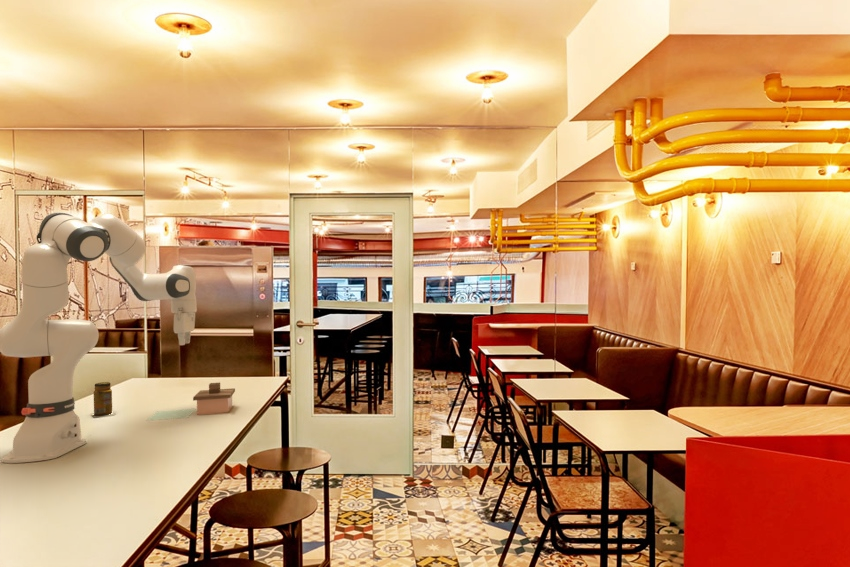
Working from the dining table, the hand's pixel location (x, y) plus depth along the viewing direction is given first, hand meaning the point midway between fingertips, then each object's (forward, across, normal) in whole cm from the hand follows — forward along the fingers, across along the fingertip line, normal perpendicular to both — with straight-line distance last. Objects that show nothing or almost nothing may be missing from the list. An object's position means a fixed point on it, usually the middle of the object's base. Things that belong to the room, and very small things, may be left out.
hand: (184, 344), depth 201 cm
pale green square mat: (+26, 0, +5) cm, 27 cm away
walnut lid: (+20, +1, -10) cm, 23 cm away
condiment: (+26, +11, +32) cm, 42 cm away
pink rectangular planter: (+26, +2, -10) cm, 28 cm away
